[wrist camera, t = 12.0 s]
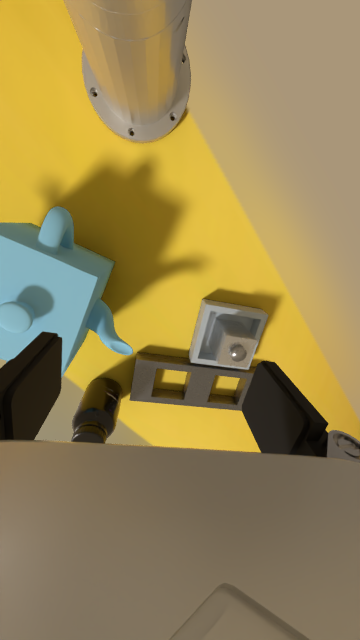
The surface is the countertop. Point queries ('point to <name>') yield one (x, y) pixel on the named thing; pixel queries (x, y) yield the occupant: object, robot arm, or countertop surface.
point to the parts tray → (214, 309)
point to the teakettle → (52, 288)
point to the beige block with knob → (231, 343)
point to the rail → (187, 382)
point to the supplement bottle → (97, 412)
